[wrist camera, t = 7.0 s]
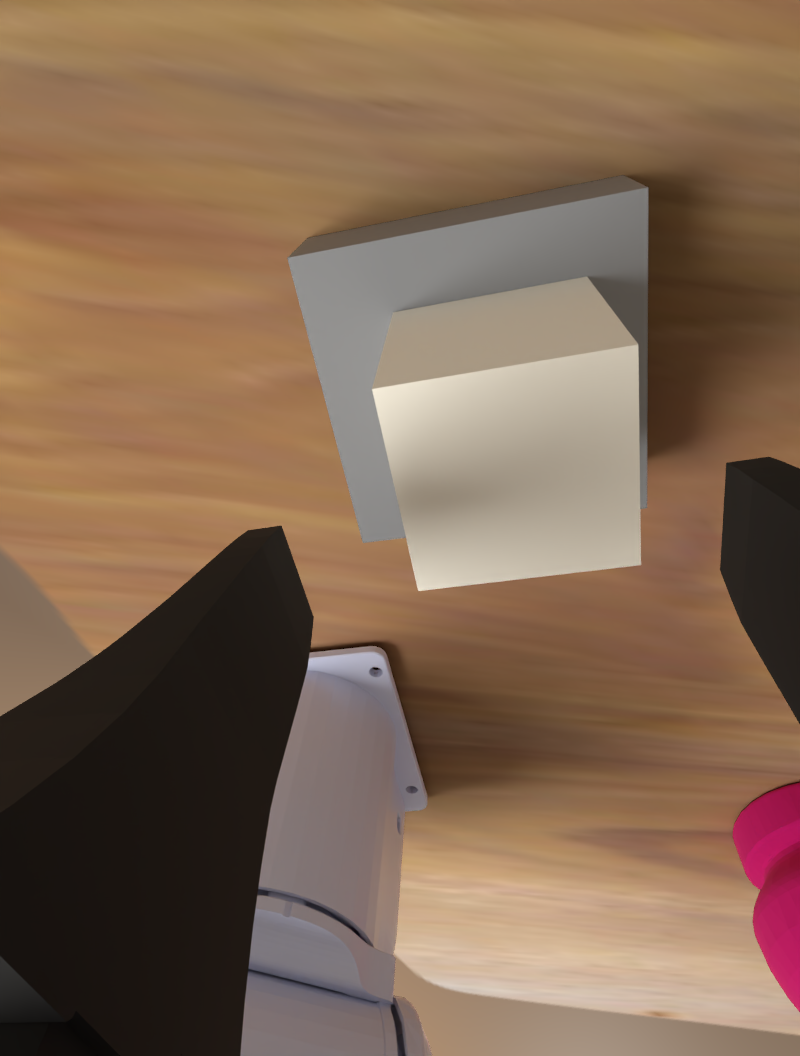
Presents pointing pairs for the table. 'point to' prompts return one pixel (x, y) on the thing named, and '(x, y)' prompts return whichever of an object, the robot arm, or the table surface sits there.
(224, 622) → the robot arm
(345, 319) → the gray base block
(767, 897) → the pepper mill
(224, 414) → the table surface
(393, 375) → the cream block
